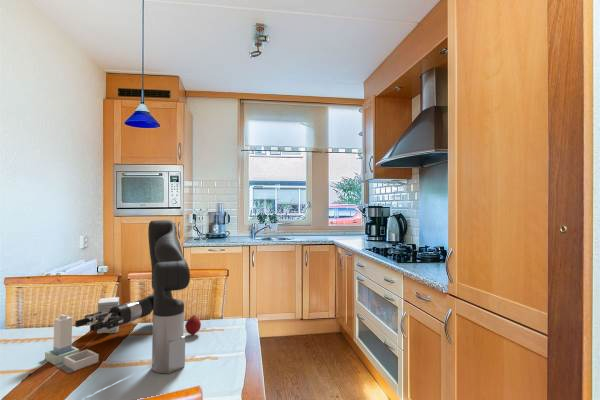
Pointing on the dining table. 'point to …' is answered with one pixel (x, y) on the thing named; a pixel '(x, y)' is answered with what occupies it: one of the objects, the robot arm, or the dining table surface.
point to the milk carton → (62, 335)
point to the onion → (193, 325)
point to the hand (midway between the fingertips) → (83, 326)
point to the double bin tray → (72, 359)
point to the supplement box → (104, 307)
